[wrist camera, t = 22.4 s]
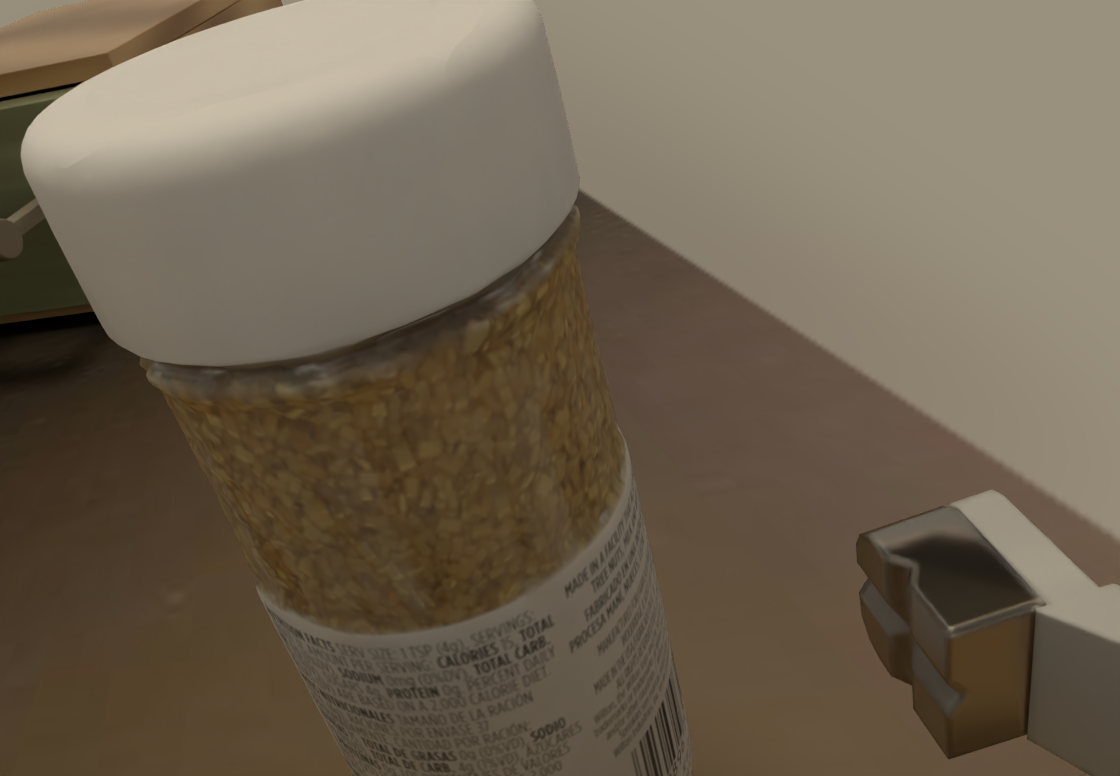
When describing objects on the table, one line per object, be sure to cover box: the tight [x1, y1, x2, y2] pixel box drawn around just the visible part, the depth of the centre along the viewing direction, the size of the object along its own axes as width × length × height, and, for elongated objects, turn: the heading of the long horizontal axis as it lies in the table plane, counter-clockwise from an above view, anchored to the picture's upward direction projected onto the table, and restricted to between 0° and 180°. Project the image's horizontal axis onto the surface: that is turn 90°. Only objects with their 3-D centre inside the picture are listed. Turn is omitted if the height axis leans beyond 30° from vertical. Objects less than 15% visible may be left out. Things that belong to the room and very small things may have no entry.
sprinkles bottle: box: [20, 0, 694, 776], centre depth 12 cm, size 5×5×14 cm
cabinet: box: [0, 0, 283, 324], centre depth 44 cm, size 15×13×10 cm
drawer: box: [0, 81, 90, 316], centre depth 41 cm, size 18×11×8 cm, turn 172°
